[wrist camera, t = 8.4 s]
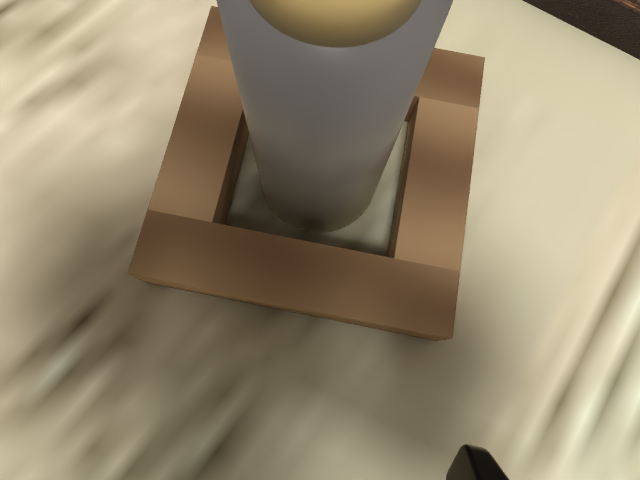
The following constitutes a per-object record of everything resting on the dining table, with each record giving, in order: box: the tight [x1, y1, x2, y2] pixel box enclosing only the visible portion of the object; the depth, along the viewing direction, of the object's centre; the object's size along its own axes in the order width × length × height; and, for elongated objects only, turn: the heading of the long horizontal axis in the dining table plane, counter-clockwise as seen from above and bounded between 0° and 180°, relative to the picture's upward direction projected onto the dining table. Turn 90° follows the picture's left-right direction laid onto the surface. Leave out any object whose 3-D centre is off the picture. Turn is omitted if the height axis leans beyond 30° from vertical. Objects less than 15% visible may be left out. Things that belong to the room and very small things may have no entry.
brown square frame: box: [128, 6, 485, 341], centre depth 19 cm, size 12×12×2 cm
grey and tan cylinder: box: [217, 0, 453, 232], centre depth 14 cm, size 5×5×13 cm
